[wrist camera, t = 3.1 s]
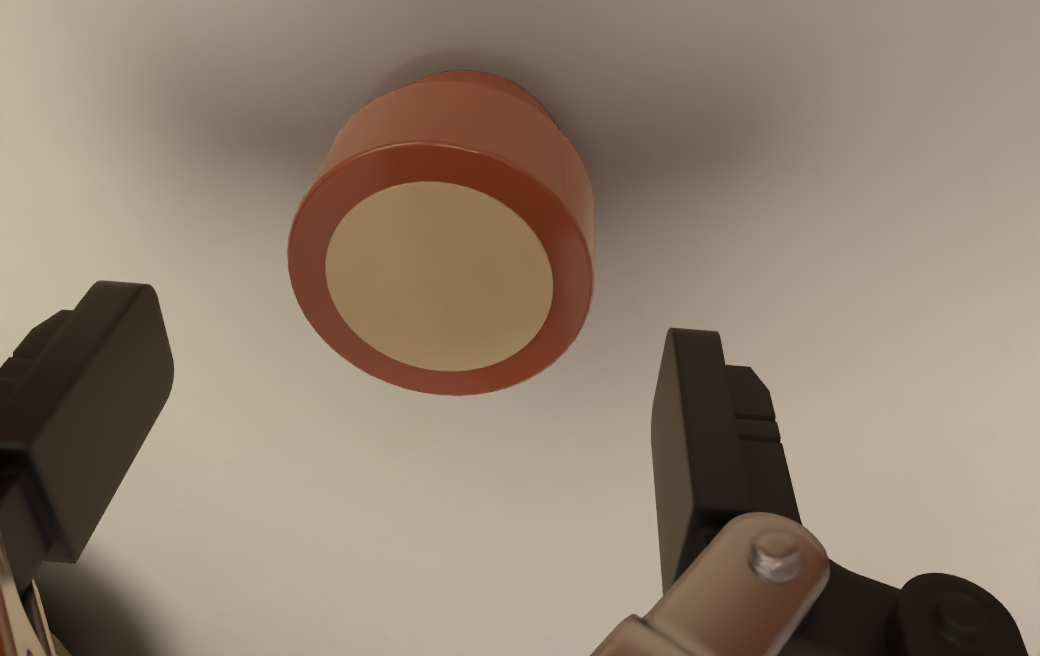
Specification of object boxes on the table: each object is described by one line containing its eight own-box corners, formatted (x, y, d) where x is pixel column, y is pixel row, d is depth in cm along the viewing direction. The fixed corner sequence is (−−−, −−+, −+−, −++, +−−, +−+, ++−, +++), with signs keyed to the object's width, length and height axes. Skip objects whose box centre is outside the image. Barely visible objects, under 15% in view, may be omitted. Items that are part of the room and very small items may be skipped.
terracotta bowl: (608, 50, 17) (610, 156, 14) (581, 276, 21) (579, 410, 17) (335, 29, 17) (266, 130, 14) (353, 257, 21) (301, 386, 17)
